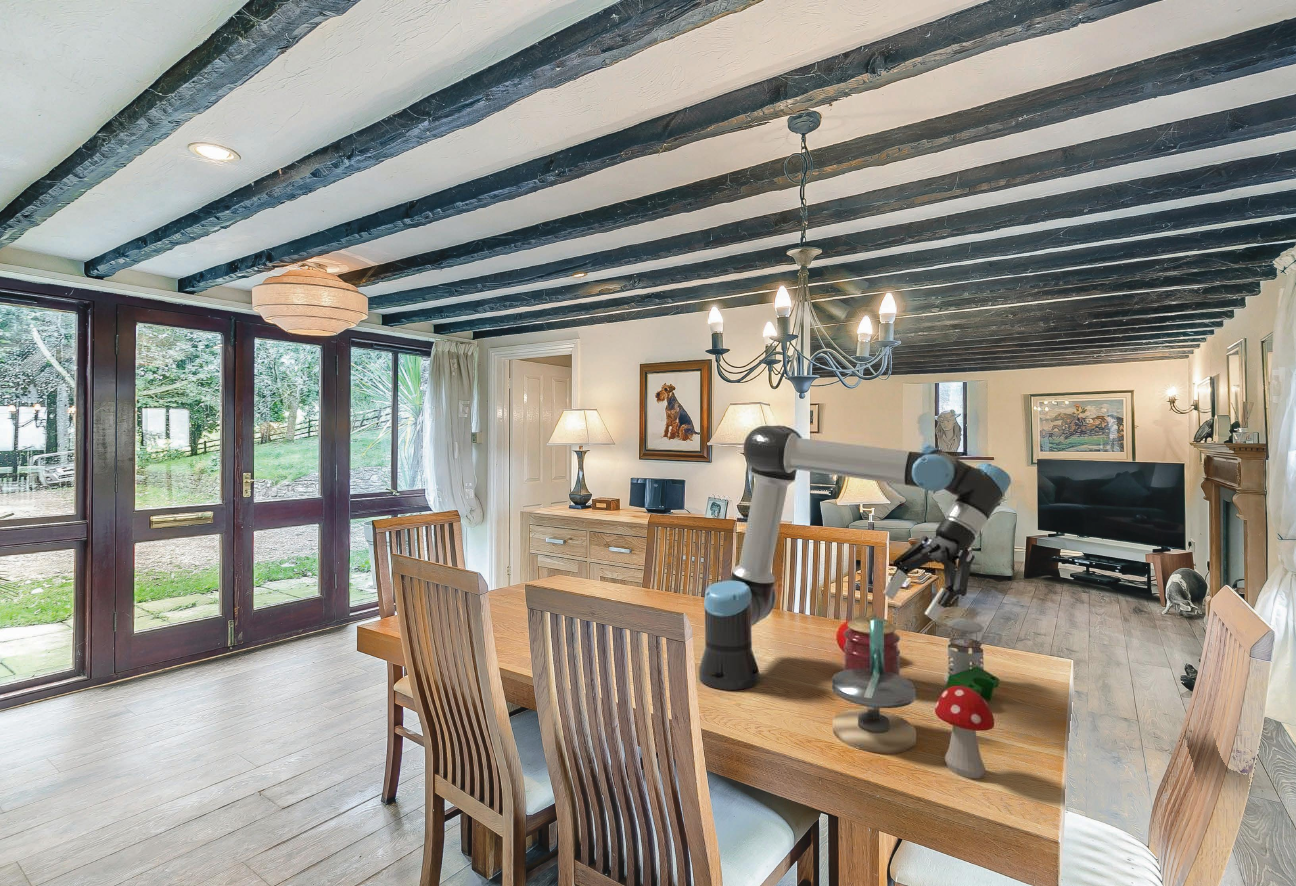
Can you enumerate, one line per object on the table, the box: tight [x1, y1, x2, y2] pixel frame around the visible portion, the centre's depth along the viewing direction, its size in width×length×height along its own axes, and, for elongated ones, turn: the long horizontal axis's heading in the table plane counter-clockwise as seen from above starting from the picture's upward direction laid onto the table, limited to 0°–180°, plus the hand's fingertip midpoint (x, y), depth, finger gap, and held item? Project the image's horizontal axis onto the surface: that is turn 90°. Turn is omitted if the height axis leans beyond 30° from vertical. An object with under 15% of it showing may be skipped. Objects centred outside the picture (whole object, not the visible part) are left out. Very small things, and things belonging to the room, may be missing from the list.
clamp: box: [944, 666, 1000, 702], centre depth 141 cm, size 12×6×9 cm, turn 114°
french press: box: [943, 581, 985, 683], centre depth 152 cm, size 10×12×25 cm
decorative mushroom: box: [934, 686, 995, 780], centre depth 111 cm, size 10×9×15 cm
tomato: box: [835, 616, 856, 654], centre depth 169 cm, size 13×12×11 cm
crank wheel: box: [831, 618, 917, 720], centre depth 126 cm, size 16×16×18 cm
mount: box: [832, 708, 917, 755], centre depth 126 cm, size 16×16×3 cm
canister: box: [844, 611, 901, 676], centre depth 151 cm, size 13×13×18 cm
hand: (907, 606), depth 135 cm, fingers open, 13 cm apart
